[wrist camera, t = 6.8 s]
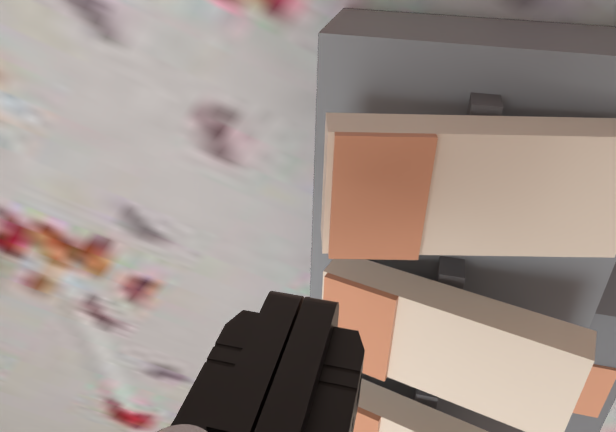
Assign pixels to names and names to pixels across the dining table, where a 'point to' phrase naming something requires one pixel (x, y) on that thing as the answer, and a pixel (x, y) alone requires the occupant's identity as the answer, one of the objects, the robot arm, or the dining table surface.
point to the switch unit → (485, 102)
